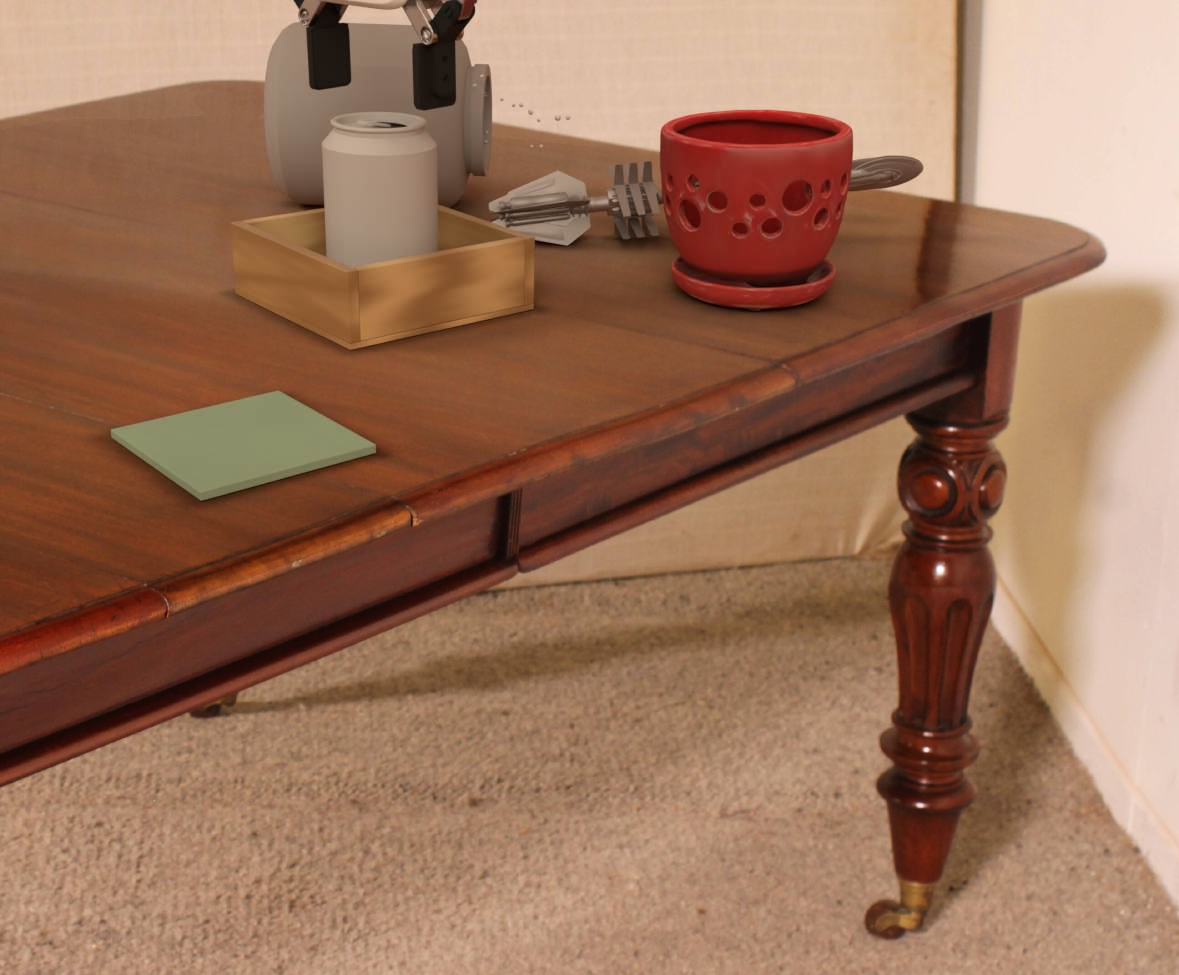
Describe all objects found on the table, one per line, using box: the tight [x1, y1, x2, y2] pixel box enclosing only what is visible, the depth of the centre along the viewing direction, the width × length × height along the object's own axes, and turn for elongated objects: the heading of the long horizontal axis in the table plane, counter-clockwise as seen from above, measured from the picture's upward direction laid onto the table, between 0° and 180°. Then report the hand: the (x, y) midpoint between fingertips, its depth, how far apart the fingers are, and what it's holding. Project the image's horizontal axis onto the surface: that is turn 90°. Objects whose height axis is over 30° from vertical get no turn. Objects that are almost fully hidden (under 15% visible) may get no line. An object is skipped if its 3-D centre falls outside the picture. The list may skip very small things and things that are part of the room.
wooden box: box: [230, 205, 536, 351], centre depth 101 cm, size 15×15×5 cm
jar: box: [263, 21, 572, 208], centre depth 124 cm, size 19×15×25 cm
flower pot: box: [659, 109, 854, 312], centre depth 104 cm, size 13×13×12 cm
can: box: [322, 112, 438, 268], centre depth 99 cm, size 8×8×12 cm
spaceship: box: [488, 154, 924, 247], centre depth 118 cm, size 8×35×8 cm
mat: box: [110, 390, 377, 502], centre depth 78 cm, size 10×10×1 cm
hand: (381, 96), depth 96 cm, fingers open, 9 cm apart
